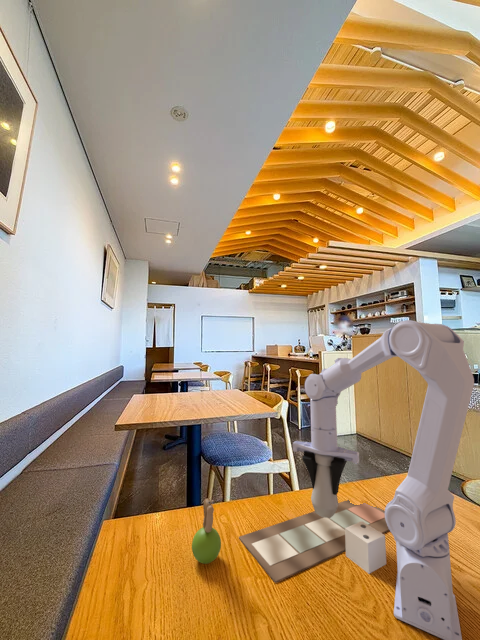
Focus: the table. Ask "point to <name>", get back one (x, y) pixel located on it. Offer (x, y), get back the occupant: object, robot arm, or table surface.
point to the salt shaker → (324, 488)
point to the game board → (308, 539)
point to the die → (365, 546)
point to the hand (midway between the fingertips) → (325, 490)
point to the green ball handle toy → (206, 537)
